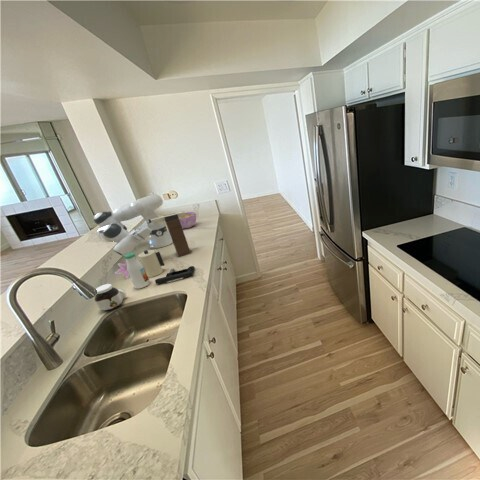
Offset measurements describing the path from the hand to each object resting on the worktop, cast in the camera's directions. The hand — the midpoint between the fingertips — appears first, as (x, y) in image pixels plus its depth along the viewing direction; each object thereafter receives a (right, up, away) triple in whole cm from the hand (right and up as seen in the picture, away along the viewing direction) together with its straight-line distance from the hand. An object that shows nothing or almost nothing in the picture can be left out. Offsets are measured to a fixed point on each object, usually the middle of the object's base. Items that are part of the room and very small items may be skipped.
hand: (154, 220), depth 175 cm
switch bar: (+7, +1, +5) cm, 8 cm away
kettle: (+6, -34, -10) cm, 36 cm away
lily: (-10, -36, -8) cm, 38 cm away
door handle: (+24, -35, -16) cm, 45 cm away
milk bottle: (+7, -40, -22) cm, 46 cm away
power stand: (+11, -22, +16) cm, 30 cm away
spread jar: (+3, -47, -38) cm, 60 cm away
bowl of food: (-14, -1, +73) cm, 75 cm away
